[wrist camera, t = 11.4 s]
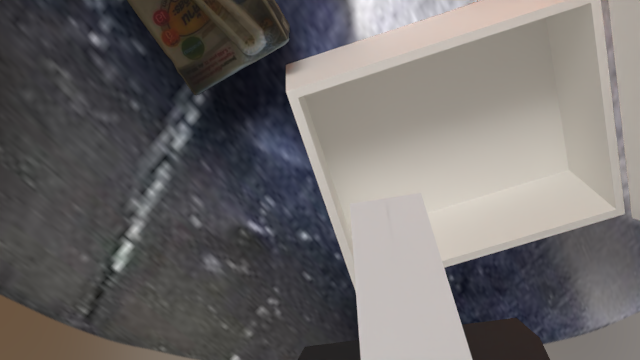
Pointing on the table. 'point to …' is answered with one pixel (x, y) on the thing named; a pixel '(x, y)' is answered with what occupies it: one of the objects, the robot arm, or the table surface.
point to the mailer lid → (628, 87)
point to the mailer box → (468, 124)
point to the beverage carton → (213, 35)
